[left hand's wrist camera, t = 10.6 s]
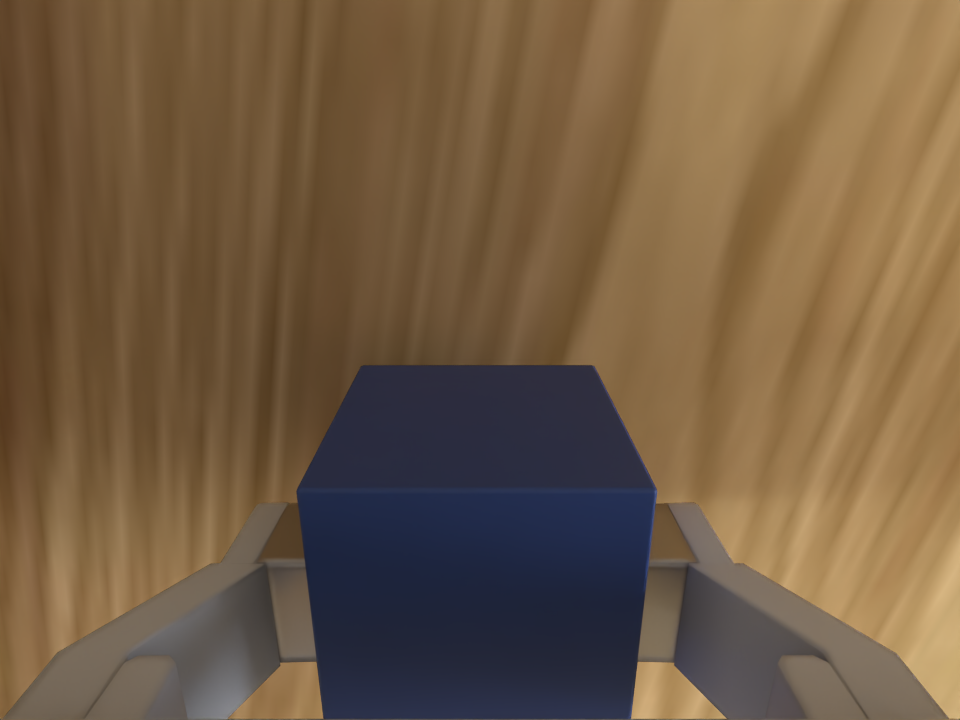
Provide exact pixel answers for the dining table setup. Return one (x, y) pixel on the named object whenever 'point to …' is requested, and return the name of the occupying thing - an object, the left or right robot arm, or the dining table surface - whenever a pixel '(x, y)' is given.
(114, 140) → the dining table surface
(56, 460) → the dining table surface
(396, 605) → the brick
